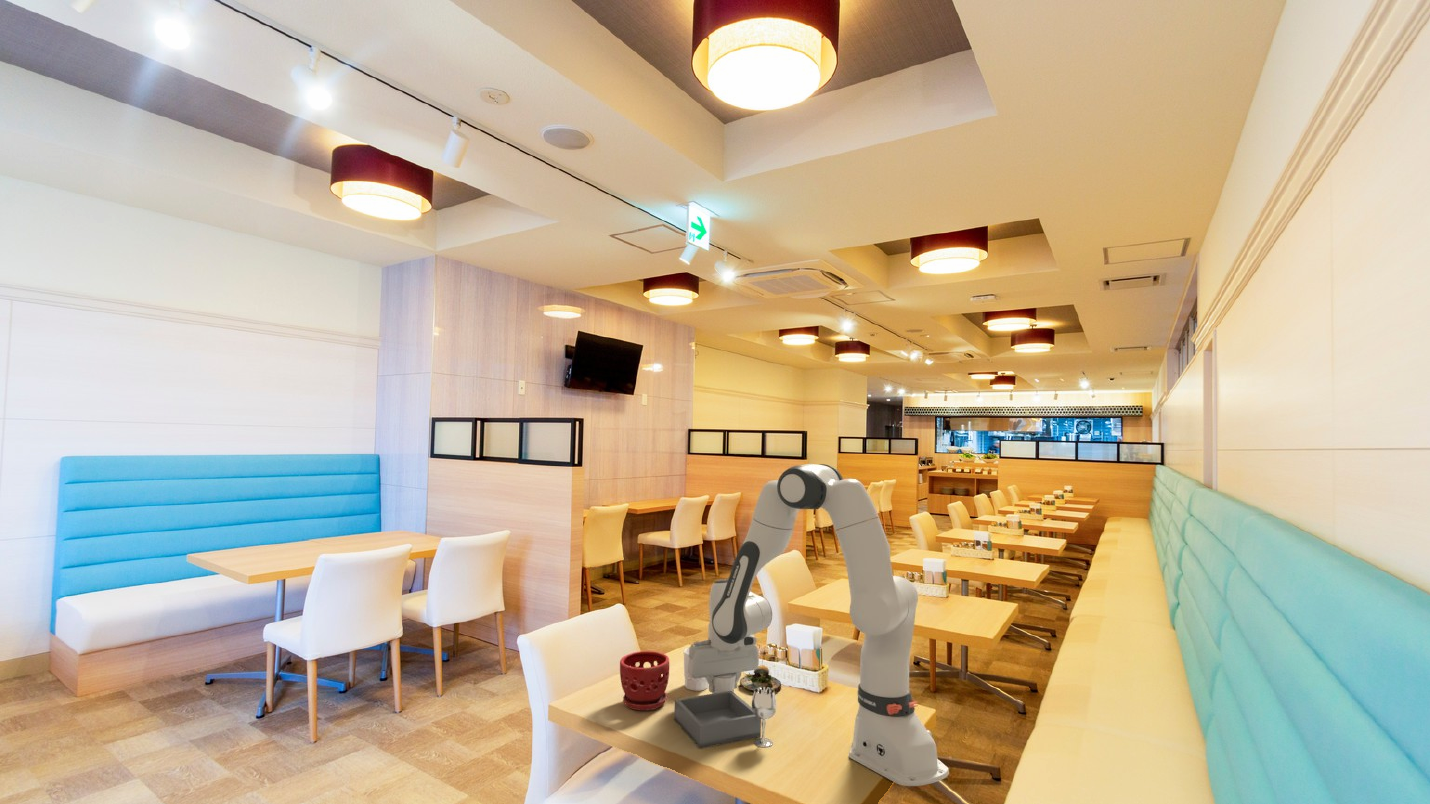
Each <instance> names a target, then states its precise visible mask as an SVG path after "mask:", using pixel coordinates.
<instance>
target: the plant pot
mask: <svg viewBox="0 0 1430 804" xmlns="http://www.w3.org/2000/svg"><path fill="white" fill-rule="evenodd" d="M655 662H656V663H657V665H655ZM637 663H639V665H638V666H636V664H637ZM646 663H648V664H650V666H649V667H644V666H645V664H646ZM619 677H620V684H621V687H622V690H623V694H624V695H623V697H622V698H623V699H622V701H623V702H624V704H625V706H627V707H628V708H630V709H632V710H637V711H652V710H655V709H658V708H660V707H662V706H663V705H664V704H665V703H666V701H667V699H668V695H667V693H666V691H667V688H668V683H669V677H670V658H669V656H668V655H666V653H665V654H664V653H662V652H659V651H651V650H643V651H642V650H641V651H635V652H631V653H628V654H626V655H624V656H622V658H621V659H620V661H619Z"/></svg>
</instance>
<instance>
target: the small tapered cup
mask: <svg viewBox="0 0 1430 804" xmlns="http://www.w3.org/2000/svg"><path fill="white" fill-rule="evenodd" d="M735 678H736V673H730V674H723V675H717V676H713V680H711V681H712V683H713V685H714V686H715V692H711V694H714V693H720V692H726V691H732V692H734V693H735V689H734V686H735Z"/></svg>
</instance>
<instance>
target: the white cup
mask: <svg viewBox="0 0 1430 804" xmlns="http://www.w3.org/2000/svg"><path fill="white" fill-rule="evenodd" d="M689 648H690V646H689V647H686V648H685V649H684V650H683V672H684V673H683V674H684V687H685V689H687V690H689V691H695V692H700V691H705V690H706V689H709V684H708V682H707V680H706V678H705V677H703V678H696V679H694V678H693V677H692V676H690V674H689V673H688V662H689Z"/></svg>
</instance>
